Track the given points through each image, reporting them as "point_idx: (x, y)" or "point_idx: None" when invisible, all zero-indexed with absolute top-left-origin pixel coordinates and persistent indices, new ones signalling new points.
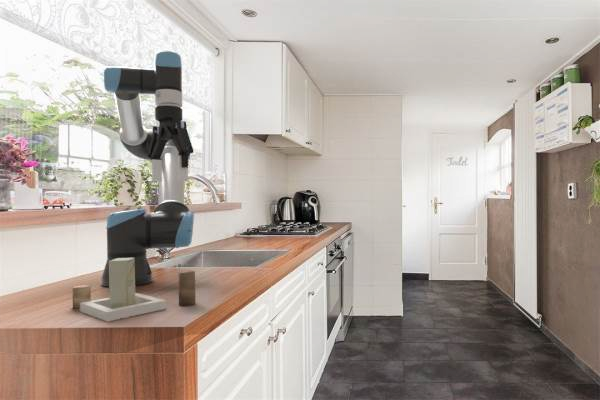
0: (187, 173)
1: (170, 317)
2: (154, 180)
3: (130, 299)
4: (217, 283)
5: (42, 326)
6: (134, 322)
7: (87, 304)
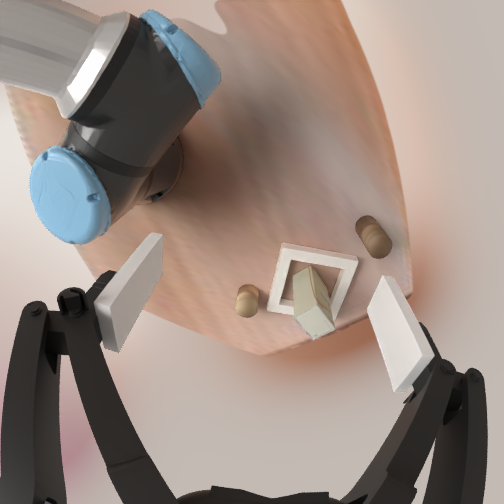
0: (401, 296)
1: None
2: (161, 273)
3: (324, 288)
4: (303, 77)
5: (287, 343)
6: (361, 304)
7: (283, 312)
